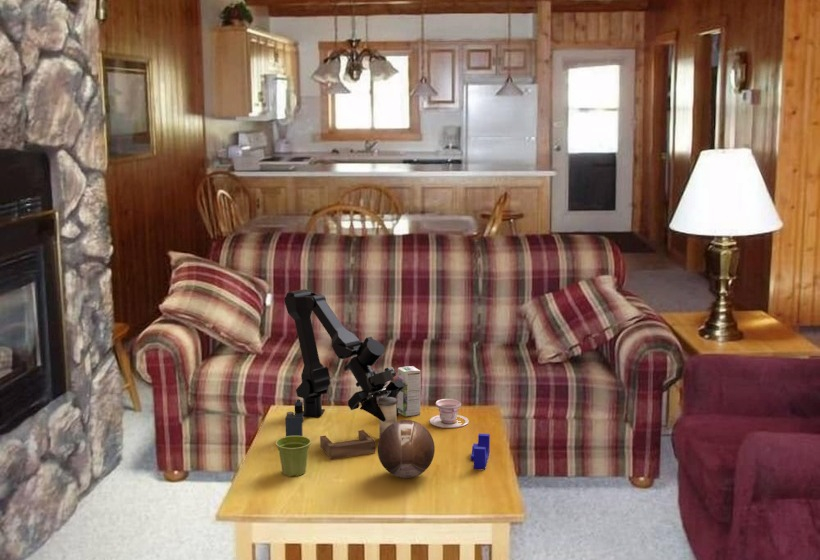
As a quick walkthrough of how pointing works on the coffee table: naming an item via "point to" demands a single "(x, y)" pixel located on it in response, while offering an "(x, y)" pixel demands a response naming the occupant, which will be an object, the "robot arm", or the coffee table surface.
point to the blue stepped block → (481, 451)
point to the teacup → (448, 414)
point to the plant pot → (293, 454)
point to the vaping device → (295, 421)
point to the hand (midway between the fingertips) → (391, 418)
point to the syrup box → (409, 391)
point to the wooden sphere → (406, 449)
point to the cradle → (348, 446)
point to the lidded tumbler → (387, 412)
